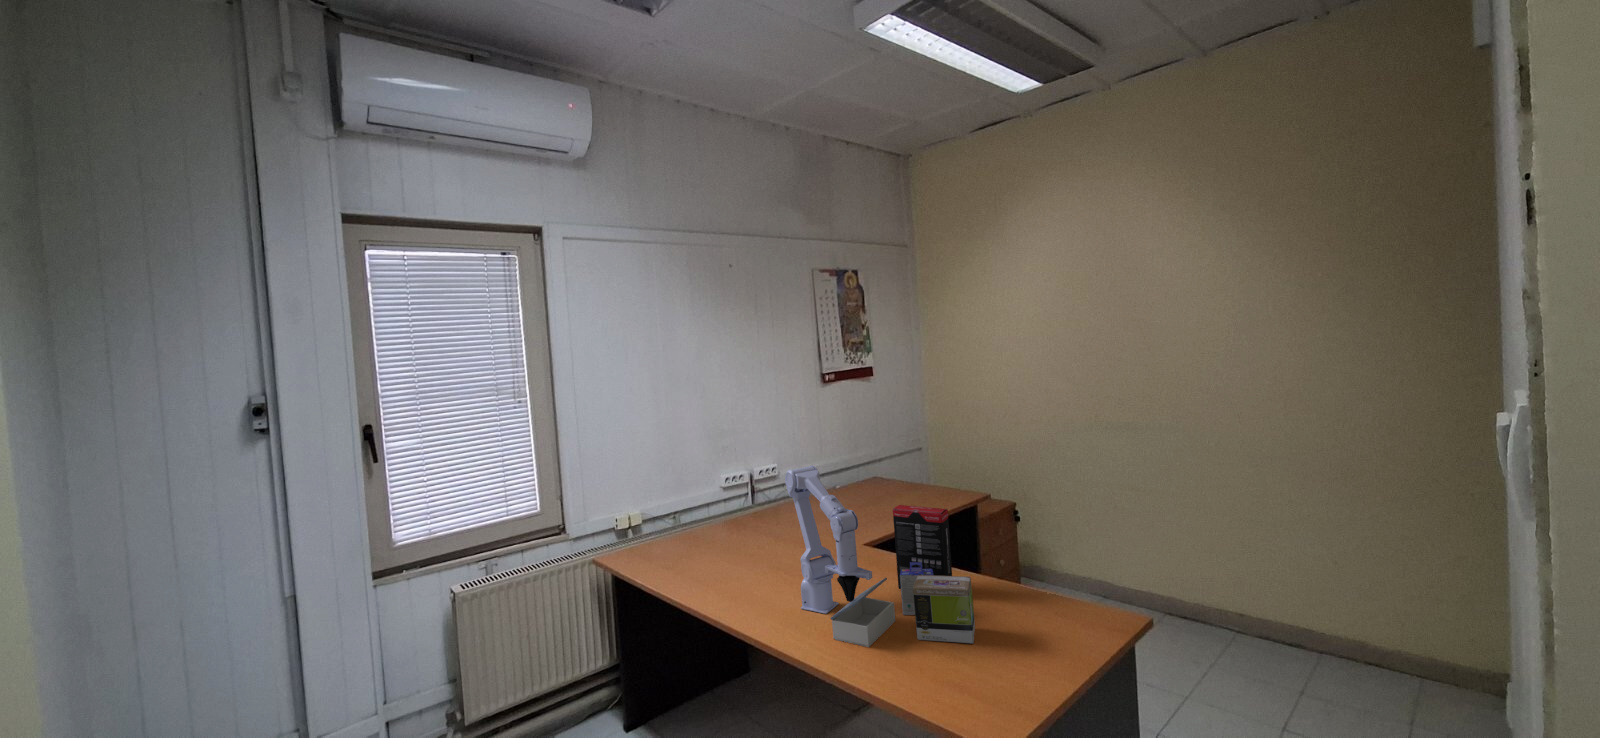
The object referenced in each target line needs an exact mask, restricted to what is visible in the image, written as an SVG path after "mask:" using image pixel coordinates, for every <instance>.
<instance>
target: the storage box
mask: <svg viewBox="0 0 1600 738" xmlns="http://www.w3.org/2000/svg"><path fill="white" fill-rule="evenodd" d="M895 611H896V610H895V602H893V601H888V600H883V599H876V598H871V597H868V596H866V597H865V598H864V599H863V600H862V601H860V602H859V603H858V604H856V605H854V606H853V607H851V608H850V609H848V610H846V611H845V612H843V613H842V614H840V615H839V616H837V617H835V618H834V619H832V620H831V625H832V636H833V640H834V639H835V641H839V642H843V641H844V643H847V642H848V643H847V644H852V643H853V644H852V645H856V644H857V646H861V647H865V648H870V647H871V645H873V644H874V643H875V642H876V641H877V640H879V638H880V637H881V636H882V635H883V634H884V633H885V632H886V631H887V630H888V629H889V628H890V627H891V626H892V625H893V624H894V623H895V622H896V615H895ZM878 637H879V638H878ZM873 642H874V643H873Z"/></svg>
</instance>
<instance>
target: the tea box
mask: <svg viewBox="0 0 1600 738" xmlns="http://www.w3.org/2000/svg"><path fill="white" fill-rule="evenodd" d="M971 579H972V578H971V576H966V575H965V576H964V575H961V576H960V575H959V576H958V575H952V576H934V575H918V576H917V578H916V581H915V584H914V586H913V597H914V608H915V615H914V619H915V628H916V638H917V640H918V641H931V642H932V641H934V642H948V643H949V642H950V643H962V644H974V642H975V632H976V631H975V630H976V628H975V627H976V622H975V609H974V599H973V588H972V580H971Z"/></svg>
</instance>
